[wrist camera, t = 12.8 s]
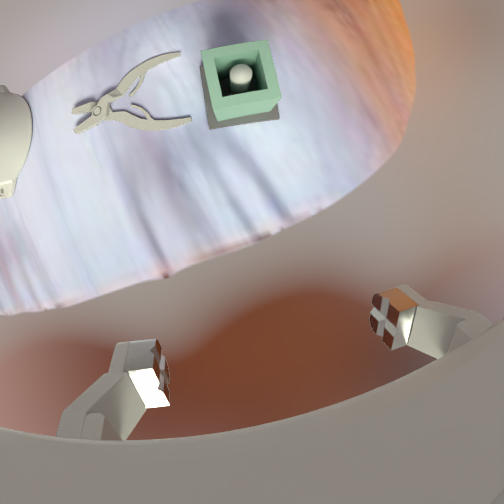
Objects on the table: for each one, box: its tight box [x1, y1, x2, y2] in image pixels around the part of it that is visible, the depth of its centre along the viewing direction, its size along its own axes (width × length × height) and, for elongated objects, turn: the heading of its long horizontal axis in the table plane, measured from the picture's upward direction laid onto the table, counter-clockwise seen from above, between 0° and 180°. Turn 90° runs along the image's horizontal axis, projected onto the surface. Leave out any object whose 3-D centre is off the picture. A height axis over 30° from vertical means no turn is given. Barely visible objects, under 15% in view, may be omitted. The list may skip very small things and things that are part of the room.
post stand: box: [200, 64, 279, 130], centre depth 26 cm, size 8×8×8 cm
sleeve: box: [201, 40, 282, 121], centre depth 25 cm, size 6×6×8 cm
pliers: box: [72, 52, 192, 134], centre depth 28 cm, size 10×2×15 cm
